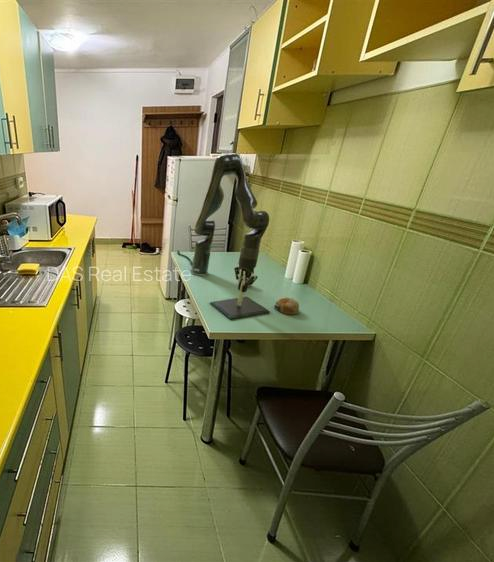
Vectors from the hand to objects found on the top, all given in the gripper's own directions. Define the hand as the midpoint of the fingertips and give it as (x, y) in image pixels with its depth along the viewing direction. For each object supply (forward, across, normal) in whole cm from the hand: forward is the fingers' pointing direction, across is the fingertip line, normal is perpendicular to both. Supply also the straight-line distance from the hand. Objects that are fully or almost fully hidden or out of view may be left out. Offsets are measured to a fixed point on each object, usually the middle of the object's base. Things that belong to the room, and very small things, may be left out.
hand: (241, 290), depth 143 cm
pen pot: (+10, +21, -21) cm, 32 cm away
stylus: (+8, 0, 0) cm, 8 cm away
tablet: (+10, 0, 0) cm, 10 cm away
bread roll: (+10, -8, -22) cm, 25 cm away
